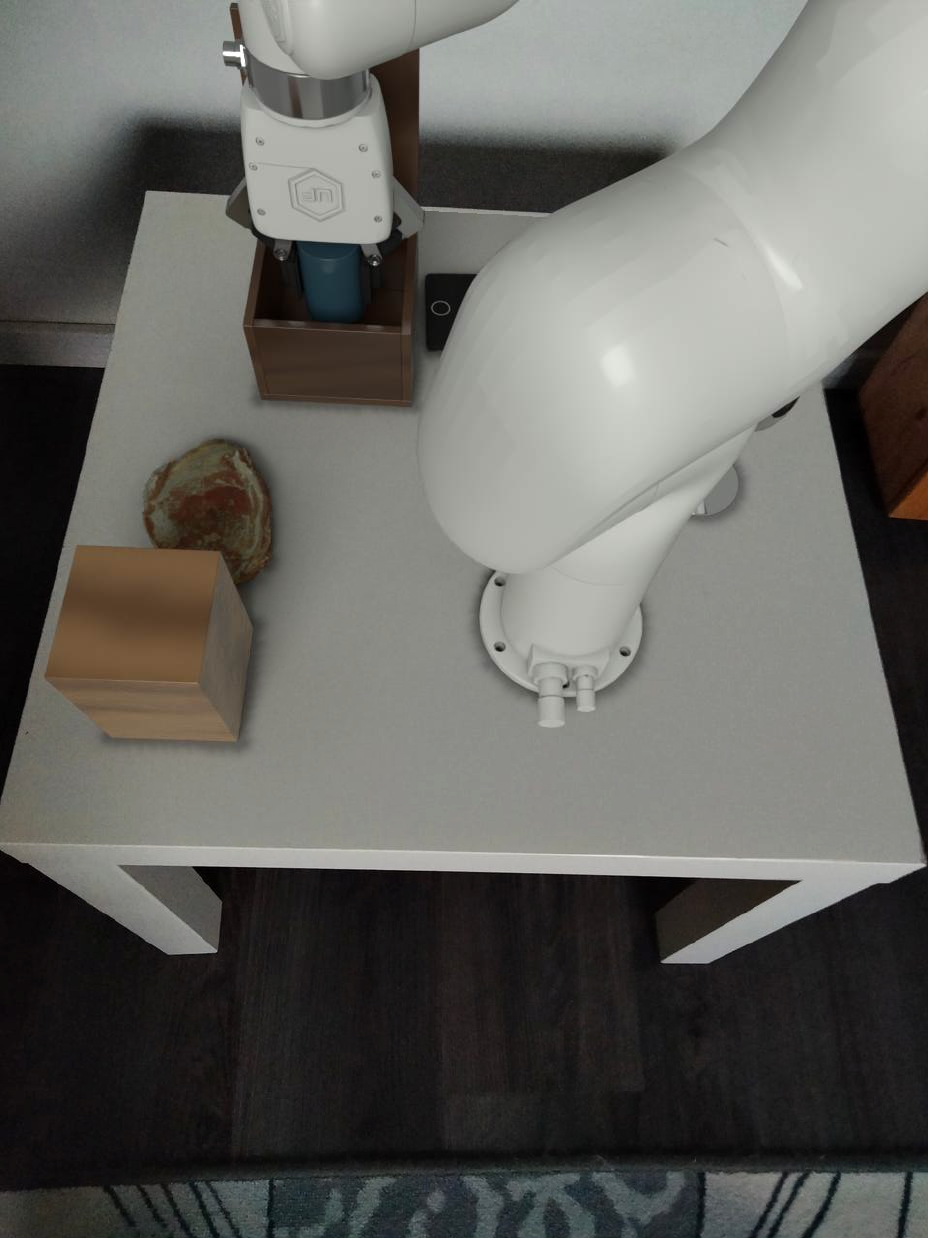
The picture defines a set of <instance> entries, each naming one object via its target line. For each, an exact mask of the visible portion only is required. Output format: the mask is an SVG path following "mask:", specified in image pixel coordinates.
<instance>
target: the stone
mask: <svg viewBox="0 0 928 1238" xmlns="http://www.w3.org/2000/svg"><path fill="white" fill-rule="evenodd" d="M142 493H143V495H142V498H143V511H142V512H141V514H142V521H143V526H144V530H145V532H146V534H147V537H148V539H149V541H150V542H151V544H152V545H153V547H154V548H159V549H183V550H207V551H220V552H221V554H222V557H223V559H224V561H225V564H226V566H227V568H228V571H229V573H230V575H231V578H232V580H233V582H234V585H235V586H236V585H238V584H241V583H244V582H245V583H246V582H248V581H250V580H253V579H255V578H256V577H257V576H258V574H259V573H260V572H261V571H264V570H265V569H266V568H268V564H269V563H270V562H271V560H272V556H273V552H274V539H273V535H272V521H273V501H272V493H271V488H270V486H269V484H268V482H267V480H266V479H265V477H264V475H263V474H262V473H261V472H260V470H259V469H258V468H257V466H256V465H255V464H254V462H253V458H252V456H251V453H250V452H249V450H248V448H247V447H242V448H241V447H240V446H239V445H238V444H233V443H231V442H230V441H228V440H225V439H222V438H214V439H207V440H203V441H201V442H199V443H198V444H197V447H195V448H194V447H193V448H191V449H189V450H187V451H186V452H185V453H184V454H183V455H182V456H180V458H179V459H178V460H173V459H172V461H168V462H166V463H163V464H162V465H161V466H160V467H158V468H156V469H154V470H153V471H151V474H150V477H149V478H148V480H147V482H146V483H145V485H144V489H143V492H142Z"/></svg>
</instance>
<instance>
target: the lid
mask: <svg viewBox="0 0 928 1238" xmlns="http://www.w3.org/2000/svg"><path fill="white" fill-rule="evenodd" d="M229 13H230V20H231V27H232V32H233V37H234V40H235V39H241V36H242V33H243V31H242V25H241V20H240V14H239V8H238V3H237V2H230V5H229ZM420 64H421V48H419V49H416V50H413V51H411V52H408V53H405V54H403V55H402V56H400V57H397V58H395V59H392V60H389V61H387V62H384V63H381V64H379V65H376V66H373V67H371V68H370V73H371V74H373V75H374V76H375V78H376V79H377V81H378V83H379V86H380V89H381V93H382V97H383V101H384V105H385V111H386V116H387V121H388V127H389V135H390V142H391V152H392V162H393V175H394V178H395V179H396V180H397V181H398V182H399V183H400V184H401V185H402V187H403V188H404V189H405V190H406V191H407V192H408V193H409V195H410V196H411V197H412V198H413V199H414V200H415V201H416V202H417V204H418V205H419V206H420V90H421V89H420V86H421V85H420V77H421V76H420V75H421V73H420V71H421V65H420ZM239 73H240V80H241V85H242V87H243V86H244V83H245V80H246V78H247V76H245V73H244V71H243V70H239Z"/></svg>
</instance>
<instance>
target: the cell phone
mask: <svg viewBox="0 0 928 1238" xmlns="http://www.w3.org/2000/svg"><path fill="white" fill-rule="evenodd" d="M477 274H478V273H447V272H446V273H444V272H443V273H442V272H438V273H437V272H436V273H435V272H434V273H427V274H426V275H425V277H424V312H425V313H424V316H425V317H424V318H425V346H426V350H428V351H430V352H438V351H439V352H440V351H441V352H443V350H444V347H445V344H446V342H447V339H448V337H449V334H450V331H451V329H452V326H453V323H454V321H455V318H456V316H457V313H458V310H459V308H460V306H461V304H462V301H463V299H464V297H465V295H466V292H467V290H468V288H469V287H470V285H471V283H472V281H473V280H474V278H475V277H476V276H477Z"/></svg>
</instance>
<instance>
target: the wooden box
mask: <svg viewBox="0 0 928 1238" xmlns="http://www.w3.org/2000/svg"><path fill="white" fill-rule="evenodd" d="M397 216H398V215H397V214H396V213H395V212H394V211H393V218H397ZM381 272H382V280H381V289H373V299H372V305H367V304H366V308H365V311H364V313H363V315H362V316H361V317H360V318H359V319H358V320H357V321H356V322H354V323H352V324H342V323H324V322H316V321H315V320H313V319H312V318H311V316H310V315H309V313H308V311H307V308H306V302H305V295H304V293H303V299H300V301H295V300H293V295H292V289H291V284H284V279H283V274H282V268H281V263H280V260H278V259H276V258H275V256H274V254H273V250H272V249H271V248H269V247H268V246H267V245H265V244H264V243H263V242H261V241H260V240H259V239H257V238H256V246H255V251H254V256H253V261H252V269H251V274H250V280H249V286H248V292H247V297H246V304H245V309H244V315H243V321H242V328H243V332H244V333H243V334H244V336H245V341H246V345H247V349H248V352H249V356H250V360H251V364H252V368H253V372H254V376H255V380H256V385H257V388H258V392H259V396H260V400H261V401H276V402H277V401H280V402H298V403H299V402H300V403H318V404H319V403H321V404H322V403H323V404H338V405H339V404H341V405H358V406H359V405H361V406H379V407H381V406H382V407H400V408H401V407H404V408H412V407H413V392H414V391H413V390H414V372H415V358H416V357H415V356H416V339H417V323H418V322H417V321H418V306H419V304H418V303H419V231H418V232H417V233H415V234H413V235H412V236H410V237H408V238H405V239H403V240H402V242H401V244H400V245H399V246H397V247H396V248H395V249H393V250H392V251H391V252H390V253H388V254H387V255H386V256H384V257H383V258H382V263H381Z"/></svg>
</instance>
